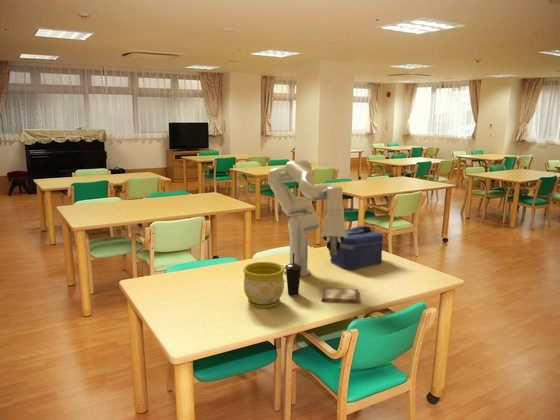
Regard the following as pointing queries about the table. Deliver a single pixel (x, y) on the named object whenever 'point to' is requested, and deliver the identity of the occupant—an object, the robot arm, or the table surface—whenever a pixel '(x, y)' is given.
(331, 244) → the translucent bottle
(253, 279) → the flowerpot
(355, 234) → the lunch bag
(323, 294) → the board
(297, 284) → the drinking cup
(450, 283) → the table surface
